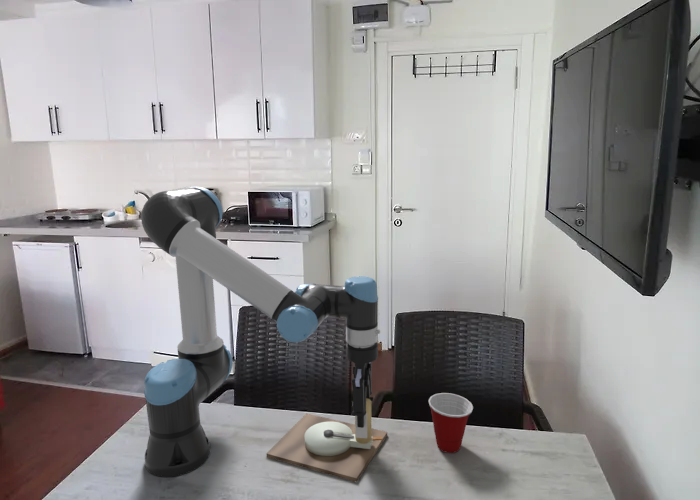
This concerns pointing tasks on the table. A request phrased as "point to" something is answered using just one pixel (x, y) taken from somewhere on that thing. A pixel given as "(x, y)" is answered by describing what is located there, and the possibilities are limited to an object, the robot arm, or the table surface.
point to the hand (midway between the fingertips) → (363, 431)
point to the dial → (337, 437)
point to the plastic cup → (449, 420)
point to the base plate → (338, 465)
